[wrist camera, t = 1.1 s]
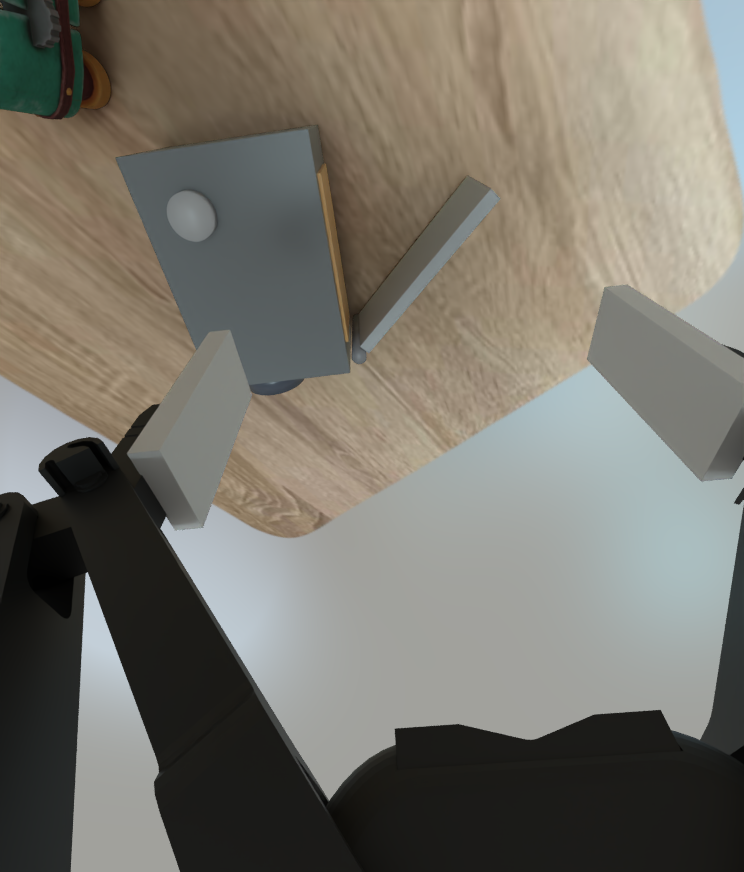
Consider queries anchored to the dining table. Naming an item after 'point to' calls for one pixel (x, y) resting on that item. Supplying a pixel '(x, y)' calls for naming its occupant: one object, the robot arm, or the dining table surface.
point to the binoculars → (47, 60)
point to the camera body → (250, 249)
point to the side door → (421, 264)
